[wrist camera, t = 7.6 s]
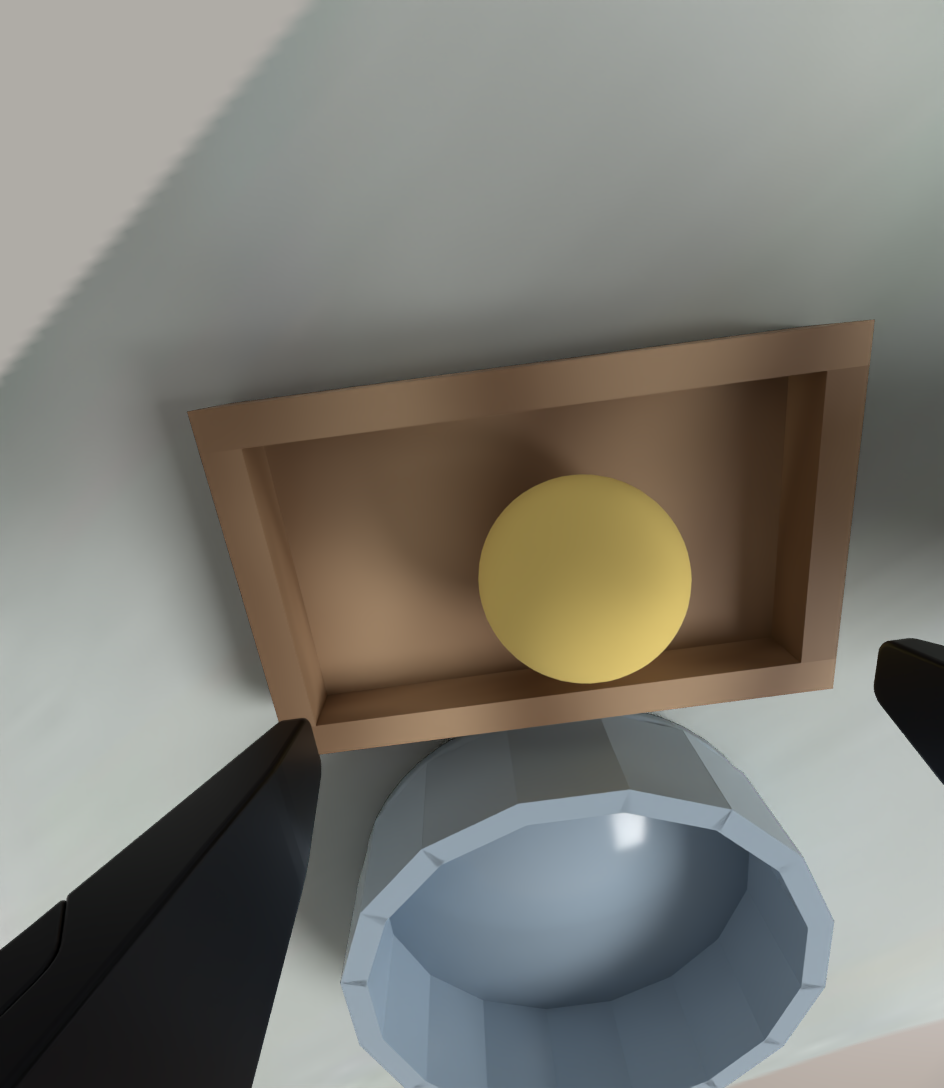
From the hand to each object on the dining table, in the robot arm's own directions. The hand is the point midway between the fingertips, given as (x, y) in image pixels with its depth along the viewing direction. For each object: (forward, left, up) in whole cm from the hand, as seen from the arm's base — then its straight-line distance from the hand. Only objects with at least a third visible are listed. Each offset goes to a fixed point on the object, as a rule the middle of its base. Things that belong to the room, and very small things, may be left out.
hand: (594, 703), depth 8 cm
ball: (0, 0, -7) cm, 7 cm away
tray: (0, 0, -8) cm, 8 cm away
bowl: (0, +14, -8) cm, 16 cm away
